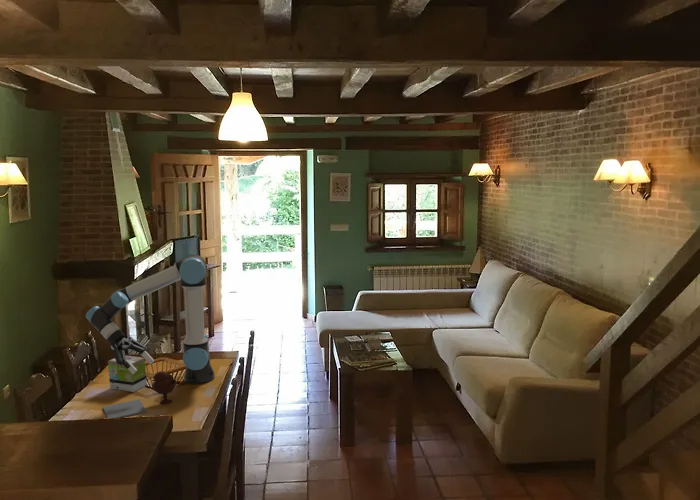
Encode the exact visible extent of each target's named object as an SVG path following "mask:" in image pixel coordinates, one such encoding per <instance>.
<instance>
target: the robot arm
mask: <svg viewBox="0 0 700 500" xmlns="http://www.w3.org/2000/svg"><path fill="white" fill-rule="evenodd" d="M206 269H207V264H206V261H205V258H203V257H202V256H200V255H199V254H190V255H187V256H185V257H184V258H183V259H181V260H178V261H176V262H174V264H173V265H172V266H171V267H168V268H165V269H164V270H162V271H159V272H157V273H154V274H152V275H150V276H148V277H145V278H143V279H141V280H139V281H137V282H134V283H132V284H130V285H128V286H126V287H124V288H121V289H117V290H115V291H114V292H112V294H111V295H110V296H109V298H108V299H107V300H106V301H105V302H104V303H103V304H102V305H101V306H99V305H95V306H93V307H91V308H90V309H89V310H88V311H87V312H86V313H85V318H86V320H88V322H89V323H90V324H91V325H92V326H93V327H94V328H95V330H97V331H98V332H99V334H100V335H102V337H103V338H104V339H105V340H106V342H108V344H110V347H109V350H111V352H112V354H113V356H114V358H115V359H116V362H117V364H120V365H122V364H123V365H124V366H125V367H126V368H127V369H128V370H129V371H130V372H131V373H132V374H134V373H135V372H136V371H137V369H136V368H135V367H134V366H133V365H132V364H131V363H130V362H129V361H128V360H126V358H125V356H126V352H125V351H126V350H132V351H134V352H137V353H140V355H141V357H142V358H145V362H147V363H148V364H149V365H152V364H153V363H154V362H155V360H154V358H153V357H152V356H151V355H150V354H149V353H148V351H147V350H148V347H147V345H144V344H143V343H141V342H139V341H137V340H136V339H134V338H133V337H132V336H128V338H126V336H125V335H126V334H125V333H124V332H123V331H122V330H121V329H120V327H119V326H118V325H117V324H116V323H115V322H114V321H113V320H112V319H113V318H114V317H115V316H116V315H117V314H119V312H120V311H121V310H123V308H125V307H126V305H127V304H129V303H131V302H134V301H136V300H138V299H140V298H142V297H146V296H147V295H150V294H152V293H154V292H156V291H158V290H160V289H163V288H165V287H168V286H169V285H172V284H174V283H176V282H178V281H180V287H181V288H182V289H183V290H184V313H185V316H184V317H185V337H184V340H183V341H182V343H183V344H182V346H183V347H182V348H183V350H182V351H183V355H182V362H183V364H184V366H185V370H184V371H185V372H184V375H183V381H184V383H186V384H189V385H199V384H204V383H210V382H211V381H213V380H214V379H215V371H214V369H213V367H212V364H211V357H210V347H209V346H210V344H209V343H210V340H209V335H208V334H205V313H204V312H205V309H204V288H205V287H206V286H207V270H206Z"/></svg>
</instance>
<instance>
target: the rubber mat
mask: <svg viewBox="0 0 700 500" xmlns="http://www.w3.org/2000/svg"><path fill="white" fill-rule="evenodd" d="M102 410H103V411H104V414H105V416H106V418H107V419H108V418H119V417H123V418H128V417H133V416H137V415H140V414H141V415H142V414H145V413H147V409H146V407H145V405H144V404H143V402H142V401H141V399H134V400H129V401H123V402H120V403H116V404H110V405H106V406H102ZM119 419H120V418H119Z"/></svg>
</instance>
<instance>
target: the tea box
mask: <svg viewBox="0 0 700 500" xmlns="http://www.w3.org/2000/svg"><path fill="white" fill-rule="evenodd" d="M125 358H126V360H128V361H129V362H130V363H131V364H132V365H133V366H134V367H135V368H136V369H137V371H136V372H135V373H134V374H132V373H131V372H130V371H129V370H128V369H127V368H126V367H125V366H124V365H123V364H122V365H120V364H117V362H116V359H115V357H114V358H112V359H110V360H107V367H108V379H109V380H108V381H109V389H112V390H119V391H126V392H131V393H135V392H137V391H138V390H139V391H140V390H141V389H143V388H145V387H146V386H147V385H148V384H147V383H148V381H147V374H146V373H147V371H146V360H145V358H144V357H142V356H141V357H140V356H133V355H125ZM146 384H147V385H146ZM145 385H146V386H145Z"/></svg>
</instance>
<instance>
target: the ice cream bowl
mask: <svg viewBox="0 0 700 500" xmlns="http://www.w3.org/2000/svg"><path fill="white" fill-rule="evenodd" d="M153 380H154V381H153V382H152V384H151V387H152V389H153V391H155V392H156V393H157V394H159V395H162V396H163V397H162V399H161V400H160V401H159V404H160V405H169V404H171V403H172V402H173V400H172V399H171V398H169V397H168V394H170V393H172V392H173V391H174V390H175V387H176V385H177V380H176V379H175V378H174V376H173V375H172V374H171V373H168V372H165V371H157V372H156V373H155V374H154V376H153Z"/></svg>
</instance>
